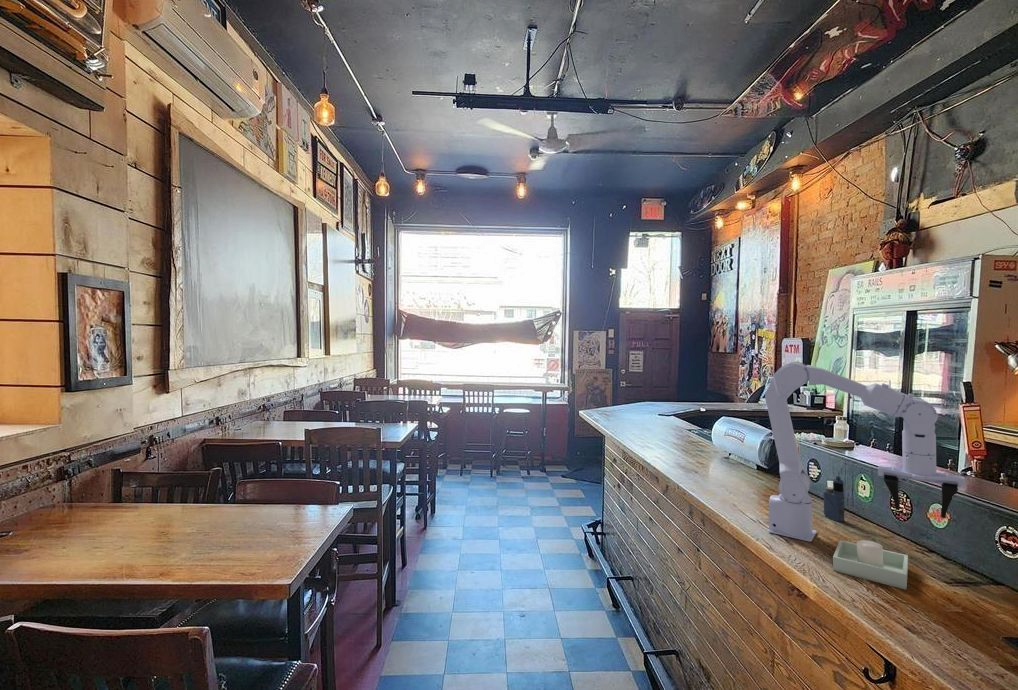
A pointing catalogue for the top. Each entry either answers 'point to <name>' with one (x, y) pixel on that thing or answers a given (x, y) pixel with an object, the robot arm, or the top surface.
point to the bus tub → (889, 575)
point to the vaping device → (834, 500)
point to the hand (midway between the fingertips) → (919, 512)
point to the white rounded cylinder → (870, 553)
